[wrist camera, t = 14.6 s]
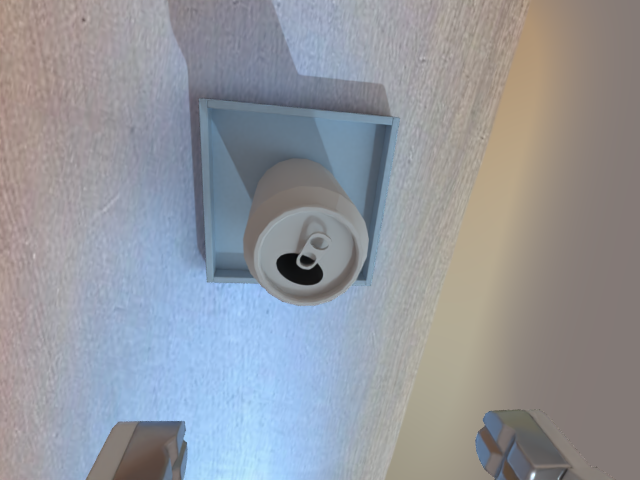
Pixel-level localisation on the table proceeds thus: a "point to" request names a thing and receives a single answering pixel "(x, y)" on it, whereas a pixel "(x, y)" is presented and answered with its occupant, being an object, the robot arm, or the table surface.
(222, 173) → the tray
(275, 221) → the can
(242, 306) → the table surface
